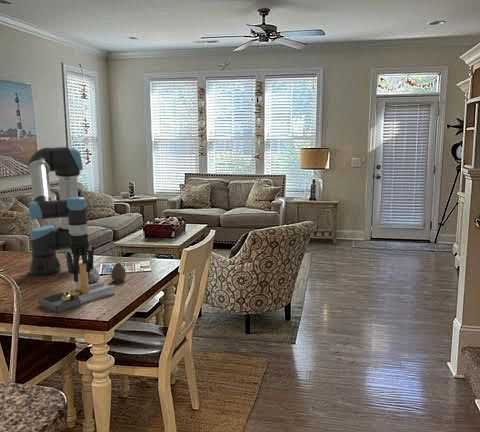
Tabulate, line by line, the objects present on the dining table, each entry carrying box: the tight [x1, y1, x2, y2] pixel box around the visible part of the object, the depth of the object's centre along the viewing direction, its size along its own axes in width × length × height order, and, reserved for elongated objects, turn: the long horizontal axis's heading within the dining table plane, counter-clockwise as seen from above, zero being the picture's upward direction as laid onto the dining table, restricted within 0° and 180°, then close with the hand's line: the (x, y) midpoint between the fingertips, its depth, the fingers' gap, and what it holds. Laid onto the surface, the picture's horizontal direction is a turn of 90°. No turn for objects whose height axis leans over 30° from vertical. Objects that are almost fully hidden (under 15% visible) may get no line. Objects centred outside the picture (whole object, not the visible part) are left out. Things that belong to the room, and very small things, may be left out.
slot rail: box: [65, 281, 116, 305], centre depth 206 cm, size 10×18×4 cm, turn 140°
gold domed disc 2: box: [70, 290, 80, 298], centre depth 201 cm, size 4×4×2 cm
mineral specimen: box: [88, 265, 101, 284], centre depth 229 cm, size 16×7×7 cm, turn 24°
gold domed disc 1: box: [61, 293, 72, 303], centre depth 198 cm, size 4×4×2 cm
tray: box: [38, 291, 82, 314], centre depth 195 cm, size 14×11×3 cm
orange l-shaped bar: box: [75, 262, 89, 294], centre depth 202 cm, size 6×3×13 cm, turn 50°
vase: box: [110, 262, 127, 283], centre depth 228 cm, size 7×7×9 cm
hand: (82, 287), depth 203 cm, fingers closed on orange l-shaped bar, 3 cm apart
